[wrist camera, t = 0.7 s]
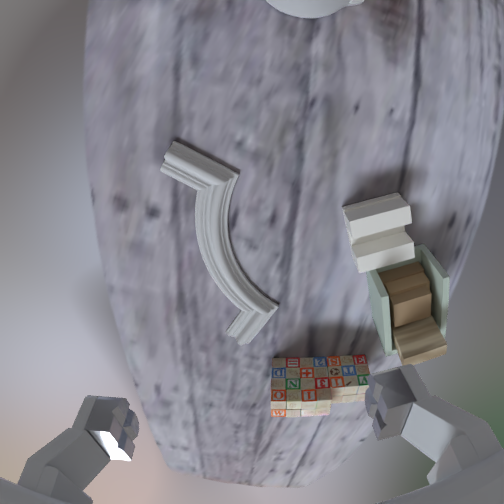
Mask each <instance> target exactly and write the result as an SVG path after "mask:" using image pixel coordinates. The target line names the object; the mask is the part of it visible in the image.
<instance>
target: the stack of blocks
mask: <svg viewBox="0 0 504 504" xmlns="http://www.w3.org/2000/svg"><path fill="white" fill-rule="evenodd" d="M369 375H370V372H369V368H368V364H367V360H366V356H365V355H353V356H352V355H348V356H329V357H313V358H272V379H271V416H272V417H300V416H301V417H305V416H321V415H329V413H330V408H331V404H332V403H347V402H356V401H365V392H366V390H367V389H368V388H369V385H368V382H367V381H368V376H369Z"/></svg>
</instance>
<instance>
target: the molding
mask: <svg viewBox="0 0 504 504" xmlns="http://www.w3.org/2000/svg"><path fill="white" fill-rule="evenodd" d="M164 158H165V161H164V162H163V165H162V167H161V170H160V171H161V172H163V173H165V174H167V175H169V176H171V177H173V178H175V179H177V180H179V181H181V182H182V183H184V184H186V185H188V186H190V187H192V188H194V189H196V190H198V191H197V196H196V205H195V225H196V234H197V240H198V244H199V248H200V251H201V254H202V257H203V260H204V262H205V265H206V267H207V269H208V271H209V273H210V274H211V276H212V278H213V279H214V281H215V283H216V284H217V285H218V287H219V288H220V289H221V291H222V292H223V293H224V294H225V295H226V297H227V298H228V299H229V300H230V301H231V302H232V303H233V304H234V305H236V306H237V307H238V308H239V309H240V310H241V311H240V312H239V314H238V315H237V317H236V318H235V319H234V321H233V322H232V323H231V325H230V326H229V328H228V329H227V330H226V333H227V335H229V336H232V337H235V338H236V340H237V343H238V344H239V345H244V344H246V343H250V342H251V341H252V339H253V338H254V337H255V336H256V335H257V333H258V332H259V331H260V330H261V328H262V327H263V326H264V325H265V323H266V322H267V321H268V320H269V319H270V317H271V316H272V315H273V314H274V312H275V311H276V310H277V309H278V307H279V305H278V304H276V303H274V302H273V301H271V300H270V299H268V298H267V297H265V296H264V295H263V294H262V293H260V292H259V291H258V290H257V289H256V288H255V287H254V286H253V285H252V284H251V283H250V281H249V280H248V279H247V278H246V276H245V275H244V273H243V272H242V270H241V269H240V267H239V265H238V263H237V261H236V259H235V256H234V254H233V251H232V247H231V244H230V239H229V232H228V211H229V203H230V199H231V195H232V191H233V188H234V186H235V183H236V181H237V179H238V177H239V174H238V173H236V172H235V171H233V170H231V169H229V168H227V167H225V166H223V165H221V164H220V163H218V162H216V161H214V160H212V159H210V158H208V157H206V156H204V155H202V154H200V153H198V152H196V151H195V150H193V149H191V148H189V147H187V146H185V145H183V144H181V143H179V142H177V141H173V143H172V145H171V146H170V148H169V149H168V150H167V152H166V154H165V156H164Z"/></svg>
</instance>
